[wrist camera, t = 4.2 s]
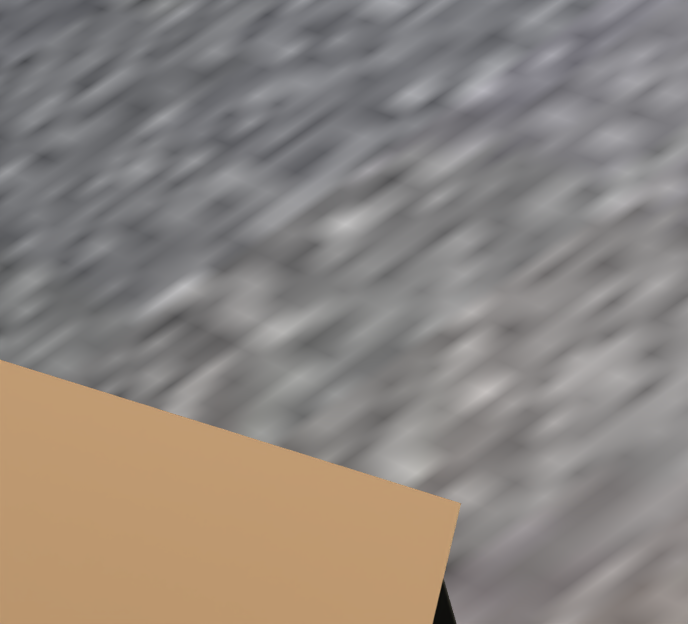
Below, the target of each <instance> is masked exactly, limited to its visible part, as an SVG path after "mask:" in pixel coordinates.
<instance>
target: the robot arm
mask: <svg viewBox="0 0 688 624" xmlns="http://www.w3.org/2000/svg"><path fill="white" fill-rule="evenodd" d="M433 624H456V620H455V617H454V613H453V610H452V606H451V603H450V599H449V596H448V592H447V589H446V585H445V582H444V578H443V581H442V586H441V590H440V594H439V598H438V602H437V607H436V611H435V615H434V619H433Z"/></svg>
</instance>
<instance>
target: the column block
mask: <svg viewBox="0 0 688 624" xmlns="http://www.w3.org/2000/svg"><path fill="white" fill-rule="evenodd" d="M460 505H461V503H458V502H455V501H452V500H448V499H445V498H442V497H439V496H436V495H432V494H429V493H426V492H423V491H420V490H416V489H413V488H410V487H407V486H403V485H400V484H397V483H394V482H391V481H387V480H384V479H381V478H378V477H375V476H371V475H368V474H365V473H362V472H359V471H355V470H352V469H349V468H346V467H342V466H339V465H336V464H333V463H330V462H326V461H323V460H320V459H317V458H314V457H310V456H307V455H304V454H301V453H298V452H294V451H291V450H288V449H285V448H281V447H278V446H275V445H272V444H269V443H265V442H262V441H259V440H256V439H253V438H249V437H246V436H243V435H240V434H237V433H233V432H230V431H227V430H224V429H220V428H217V427H214V426H211V425H208V424H204V423H201V422H198V421H195V420H192V419H188V418H185V417H182V416H179V415H176V414H172V413H169V412H166V411H163V410H159V409H156V408H153V407H150V406H147V405H143V404H140V403H137V402H134V401H131V400H127V399H124V398H121V397H118V396H114V395H111V394H108V393H105V392H102V391H98V390H95V389H92V388H89V387H86V386H82V385H79V384H76V383H73V382H70V381H66V380H63V379H60V378H57V377H53V376H50V375H47V374H44V373H41V372H37V371H34V370H31V369H28V368H25V367H21V366H18V365H15V364H12V363H9V362H5V361H2V360H0V624H433V619H434V615H435V611H436V607H437V602H438V598H439V594H440V590H441V586H442V581H443V577H444V573H445V569H446V564H447V560H448V556H449V552H450V547H451V543H452V539H453V535H454V531H455V526H456V522H457V518H458V514H459V509H460Z"/></svg>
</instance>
